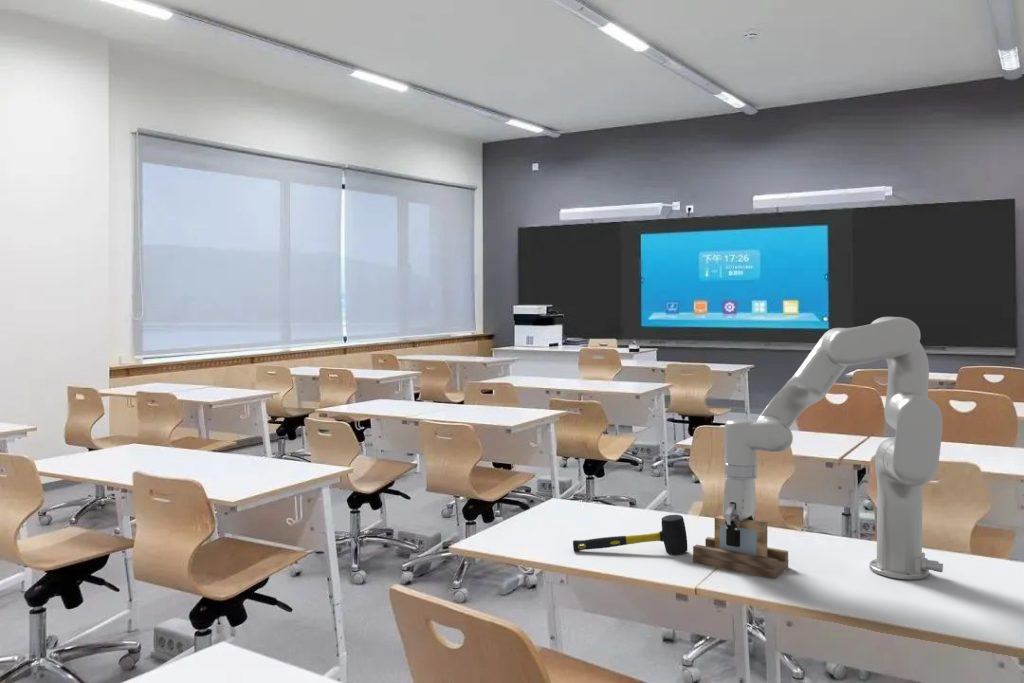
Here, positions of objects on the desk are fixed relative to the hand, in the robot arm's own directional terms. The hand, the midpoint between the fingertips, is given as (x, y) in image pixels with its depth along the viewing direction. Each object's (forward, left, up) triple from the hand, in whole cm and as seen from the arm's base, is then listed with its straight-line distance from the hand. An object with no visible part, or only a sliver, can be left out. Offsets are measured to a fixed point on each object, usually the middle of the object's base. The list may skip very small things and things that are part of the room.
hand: (740, 541), depth 190 cm
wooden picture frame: (0, 0, -4) cm, 4 cm away
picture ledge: (0, 0, -6) cm, 6 cm away
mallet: (+27, +6, -6) cm, 28 cm away
